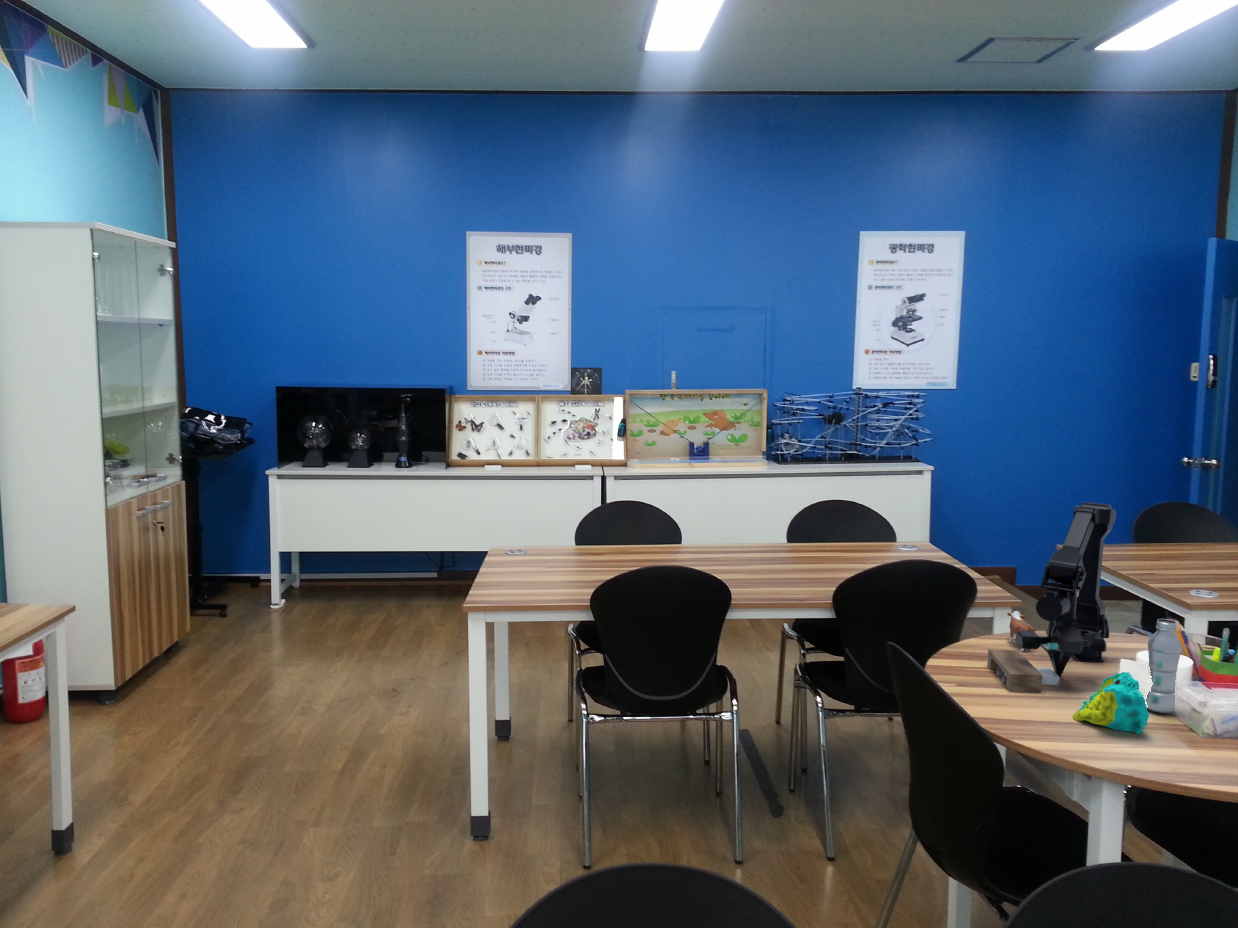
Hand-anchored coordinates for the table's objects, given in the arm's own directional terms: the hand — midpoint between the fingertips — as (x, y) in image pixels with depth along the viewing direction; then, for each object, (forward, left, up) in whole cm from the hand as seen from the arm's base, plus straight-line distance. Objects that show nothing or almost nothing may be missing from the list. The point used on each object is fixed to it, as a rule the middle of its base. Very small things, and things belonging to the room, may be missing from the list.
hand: (1058, 676), depth 223 cm
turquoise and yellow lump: (-3, +26, -1) cm, 26 cm away
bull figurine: (+1, -27, -1) cm, 27 cm away
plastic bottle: (-15, +17, -1) cm, 23 cm away
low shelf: (+10, 0, -1) cm, 10 cm away
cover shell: (+6, 0, -1) cm, 6 cm away
